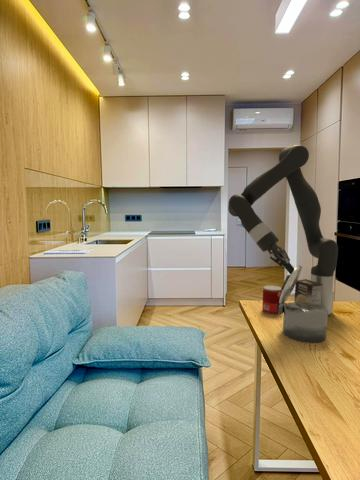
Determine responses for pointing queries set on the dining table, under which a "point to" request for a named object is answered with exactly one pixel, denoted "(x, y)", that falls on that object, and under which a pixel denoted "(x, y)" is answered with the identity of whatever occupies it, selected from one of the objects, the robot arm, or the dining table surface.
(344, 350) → the dining table surface
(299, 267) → the lid
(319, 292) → the coffee box
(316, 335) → the cooker pot
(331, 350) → the dining table surface
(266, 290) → the canned food
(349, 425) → the dining table surface
